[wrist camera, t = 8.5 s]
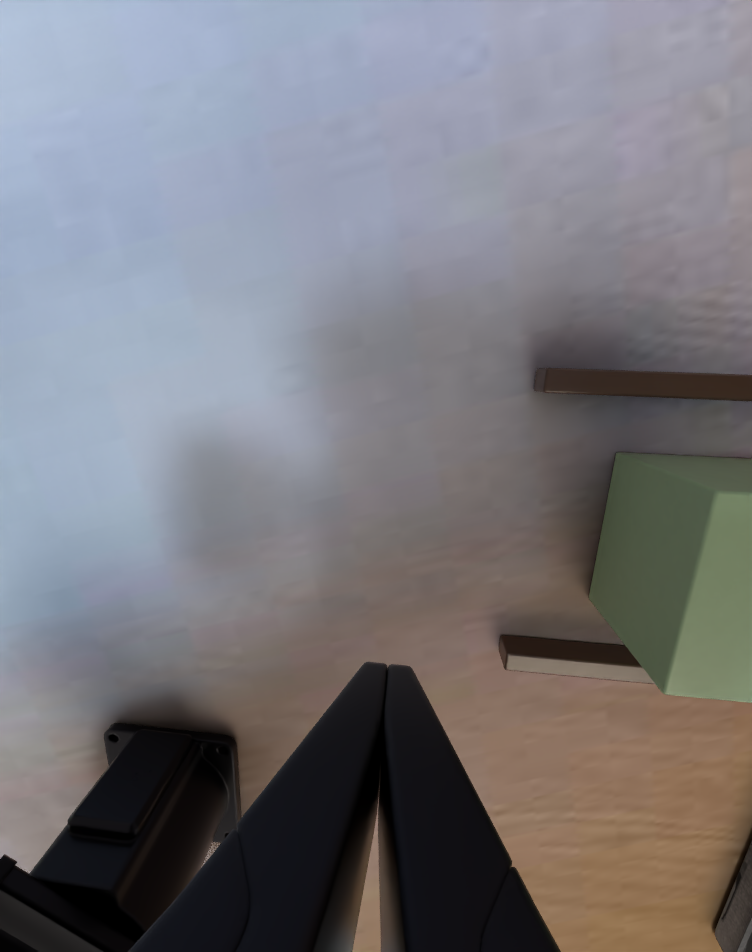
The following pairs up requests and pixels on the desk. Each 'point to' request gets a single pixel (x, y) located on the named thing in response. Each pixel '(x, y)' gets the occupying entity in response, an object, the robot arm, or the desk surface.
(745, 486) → the block
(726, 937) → the phone
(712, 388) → the bay
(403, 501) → the desk surface
